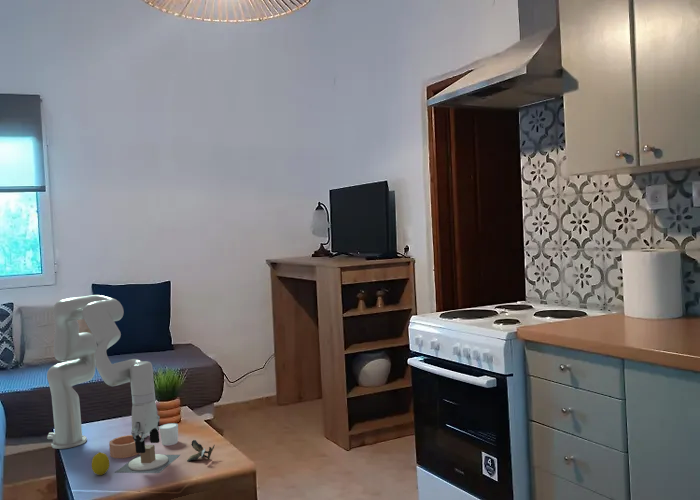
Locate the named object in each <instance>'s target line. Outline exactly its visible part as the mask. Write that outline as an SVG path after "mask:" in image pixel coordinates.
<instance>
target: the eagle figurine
mask: <svg viewBox="0 0 700 500" xmlns="http://www.w3.org/2000/svg"><path fill="white" fill-rule="evenodd" d="M191 446H192V448H193V449H194V451H196V452H197V453H194V454H191V455H190V456H189V458H188V459H187V460H186V462H191V461H193V460H194V461H196V460H197V459H199V458H206V459H207V460H208V461H209V460H210V458H211V455H212V452H213V451H214V449H215V444H213V446H212V447H211V446H209V447H208V450H206V447H203V445H202V444H201V443H199V442H198V441H197V440H196V439H193V440H192V441H191ZM205 454H207V455H205Z"/></svg>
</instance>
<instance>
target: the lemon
mask: <svg viewBox="0 0 700 500" xmlns="http://www.w3.org/2000/svg"><path fill="white" fill-rule="evenodd" d="M109 468H110V459H109V456H108V455H107V454H106V453H105V452H101V451H98V452H97V453H96V454H95V455H93V457H92V459H91V470H92V472H93V473H94V474H95V475H98V476H103V475H104V474H106V473H107V472H108V470H109Z"/></svg>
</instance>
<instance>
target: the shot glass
mask: <svg viewBox="0 0 700 500" xmlns="http://www.w3.org/2000/svg"><path fill="white" fill-rule="evenodd" d="M159 436H160V442H161V445H162V446H173V445H176V444H177V443H178V442H179V424H178V423H175V422H173V423H172V422H170V423H165V424H162V425H159Z"/></svg>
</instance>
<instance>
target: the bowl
mask: <svg viewBox="0 0 700 500" xmlns="http://www.w3.org/2000/svg"><path fill="white" fill-rule="evenodd" d="M140 437H141V436H140ZM108 443H109V444H108V445H109V455H110V456H109V457H111V458H113V459H126V458H132V457H134V456H135V457H136V456H138V455H140V453H136V446H135V442H134V439H133V436H132V434H128V435H121V436H118V437H116V438H113V439H111V440H109V442H108Z"/></svg>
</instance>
